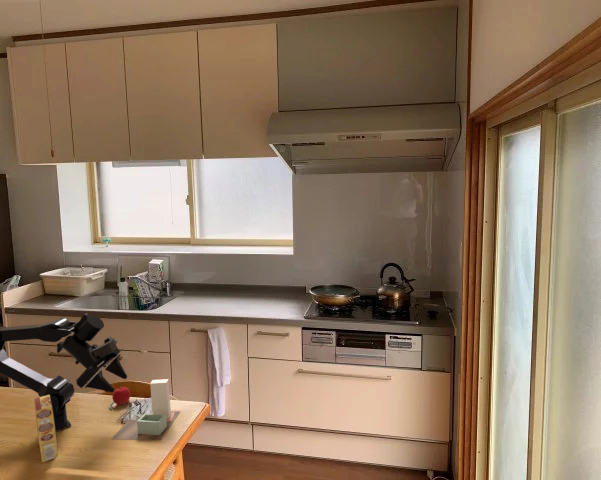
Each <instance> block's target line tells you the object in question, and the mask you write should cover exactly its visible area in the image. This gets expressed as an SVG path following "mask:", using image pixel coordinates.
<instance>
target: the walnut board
mask: <svg viewBox="0 0 601 480" xmlns="http://www.w3.org/2000/svg"><path fill="white" fill-rule="evenodd" d="M180 413H181V411H177V410H176V411H174V410H173V411H172V410H171V416H170V418H169V419H166V422H167V427H166V429H165V430H164V431H163V432H162V433H161V434H160V435H150V434H138V428H137V421H138V420H139V419H138V420H131V419H130V418H129V419H127V421H126V422H125V423H124V424H123V425H122V426H121V427H120V429H119V430H118V431H117V432H116V434H114V435H113V436H112V438H111V440H125V441H126V440H128V441H129V440H132V441H138V440H139V441H161V440H162V439H163V438H164V436H165V434H166V433H167V432H168V430H169V429H170V428H171V426H172V425H173V423H174V422H175V420H176V419H177V418H178V416H179V415H180Z"/></svg>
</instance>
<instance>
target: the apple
mask: <svg viewBox="0 0 601 480" xmlns="http://www.w3.org/2000/svg"><path fill="white" fill-rule="evenodd" d="M111 397H112V402H111V403H110V404H109V405H108V406H109V409H110V410H114V409H115V408H116V407H117V406H118V405H119V406H122V405H126V404H127V403H128V402H129V401H130V397H131V392H130V390H129V388H128V387H126V386H121V387H118V388H115V390H114V391H113V392H112V396H111Z"/></svg>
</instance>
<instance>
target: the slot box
mask: <svg viewBox="0 0 601 480" xmlns="http://www.w3.org/2000/svg"><path fill="white" fill-rule="evenodd" d="M166 427H167V422H166V415H164V414H148V413H145V414H144V415H143V416H142V417H141V418H140V419H139V420H138V421H137V428H138V434H150V435H160V434H161V433H162V432H163V431H164V430H165V429H166Z"/></svg>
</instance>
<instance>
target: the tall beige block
mask: <svg viewBox="0 0 601 480" xmlns="http://www.w3.org/2000/svg"><path fill="white" fill-rule="evenodd" d="M149 386H150V399H151V400H150V401H151V411H152V413H153V414H164V415H166V419H169V418H170V416H171V411H172V410H171V397H170V395H171V394H170V382H169V379H168V378H167V379H166V378H164V379H152V380H151V381H150V385H149Z"/></svg>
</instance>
